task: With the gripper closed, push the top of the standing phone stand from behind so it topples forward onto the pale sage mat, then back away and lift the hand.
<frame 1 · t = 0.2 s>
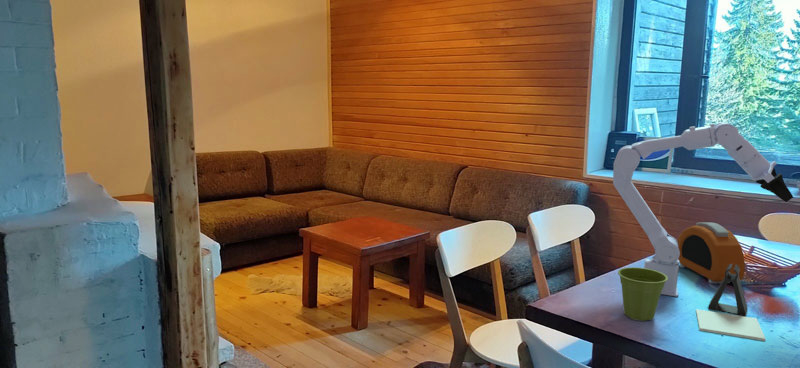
hand: (786, 197, 160), 30 cm above the table, tool tilted 45°, fingers open, 7 cm apart
plant pot: (638, 317, 155), on the table
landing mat: (728, 325, 151), on the table
phone stand: (727, 310, 162), on the table
orange tape measure: (705, 275, 191), on the table
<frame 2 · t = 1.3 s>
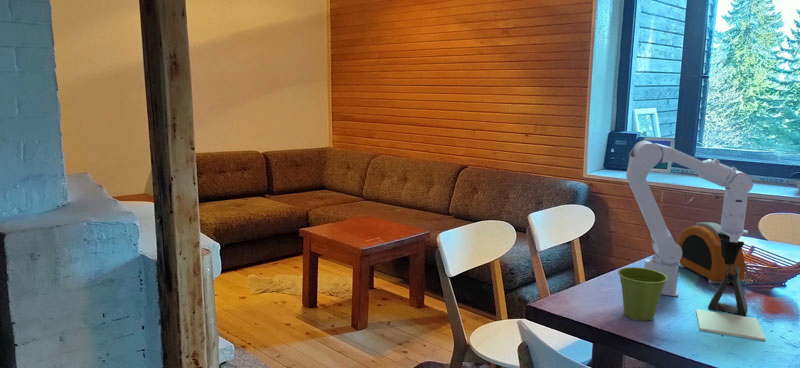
hand: (727, 261, 170), 10 cm above the table, tool pointing down, fingers open, 6 cm apart
nothing on the table moved.
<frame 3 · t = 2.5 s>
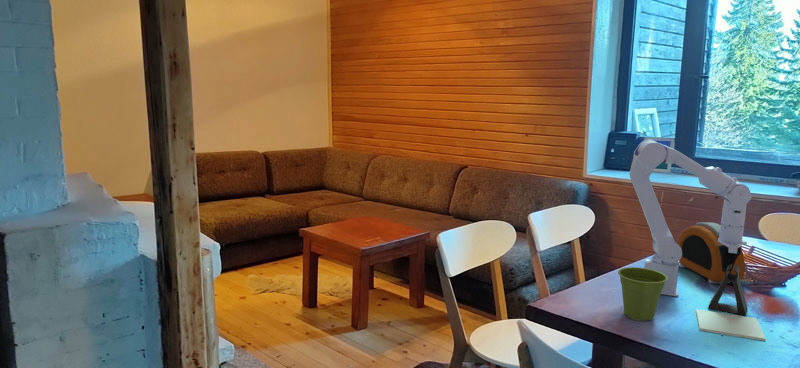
hand: (726, 271, 170), 7 cm above the table, tool pointing down, fingers closed
nothing on the table moved.
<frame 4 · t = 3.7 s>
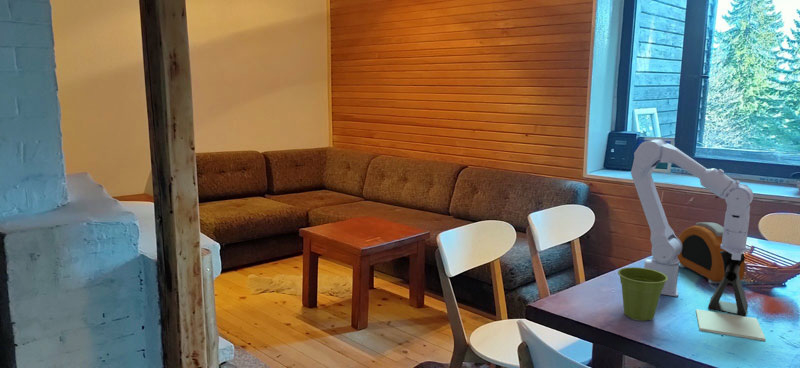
hand: (729, 278, 164), 7 cm above the table, tool pointing down, fingers closed
phone stand: (727, 308, 162), on the table, touching gripper
everything else where it was.
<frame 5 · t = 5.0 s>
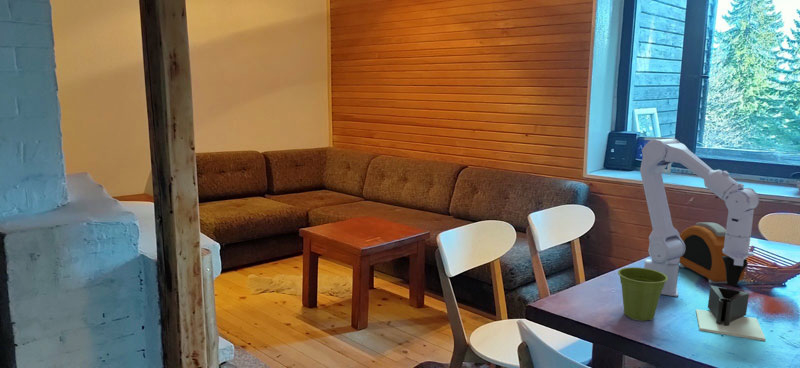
hand: (731, 284, 159), 7 cm above the table, tool pointing down, fingers closed
phone stand: (728, 299, 159), point 4 cm above the table, touching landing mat
everything else where it was.
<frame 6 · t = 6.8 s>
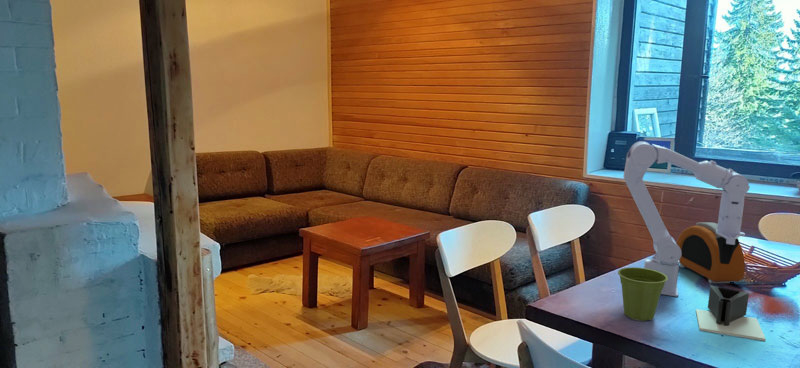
hand: (724, 263, 169), 10 cm above the table, tool pointing down, fingers closed
nothing on the table moved.
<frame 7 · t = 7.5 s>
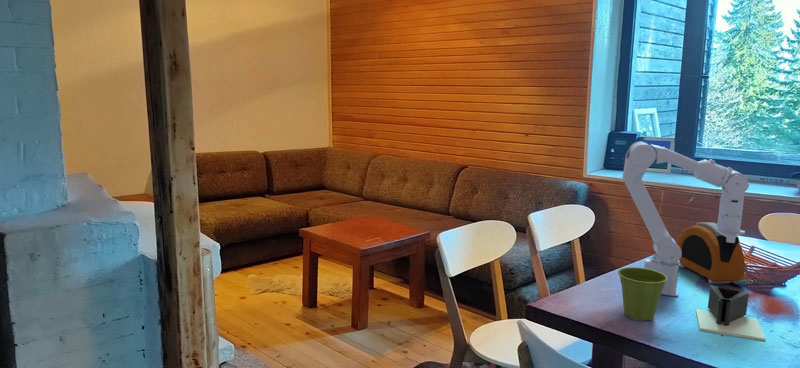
hand: (724, 261, 169), 10 cm above the table, tool pointing down, fingers closed
nothing on the table moved.
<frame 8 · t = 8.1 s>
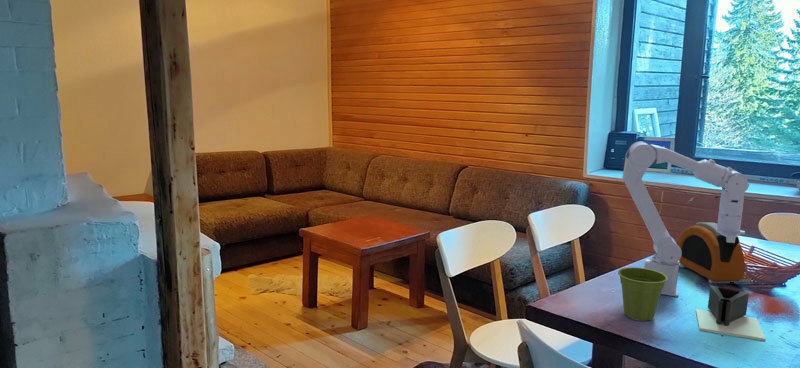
hand: (724, 261, 169), 10 cm above the table, tool pointing down, fingers closed
nothing on the table moved.
at the end: phone stand tilted 90°; phone stand touching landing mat; the gripper is holding nothing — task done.
